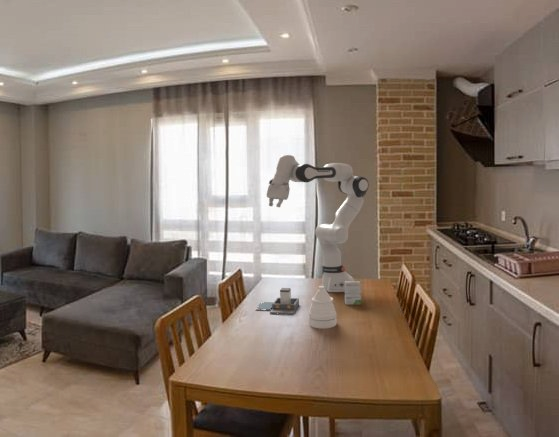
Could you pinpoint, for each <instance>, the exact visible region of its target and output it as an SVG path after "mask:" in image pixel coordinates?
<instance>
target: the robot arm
mask: <svg viewBox="0 0 559 437" xmlns="http://www.w3.org/2000/svg"><path fill="white" fill-rule="evenodd" d="M316 179H323V180H324V181H326V182H331V183H332V182H333V183H334V182H335V183H337V188H338V191H339V192H341V193H342V194H345V195H346V196H347V197H346V198H345V199H344V201H343V203H342V204H341V205H340V206H339V207H338V208H337V210H336V212H334V213H335V214H334V218H335V219H334V221H333V222H332V223H321V224H319V225H318V226H316V227H315V231H314V232H315V233H314V234H315V237H316V238H317V239H318V242H319V245H320V248H321V253H322V256H321V257H322V265H321V275H322V280H321V285H320V286H324V289H325V290H326V291H327V293H328V292H329V293H345V281H355V279H354V277H353V276H351V275H350V274H349V273H348V272H346V267H345V265H342V251H341V250H340V249H339V247H338V244H339V245H340V244H344V243H346V242H347V241H348V238H349V228H350V225H351V223H352V222H353V221H354V220H355V219H356V216H357V215H358V214H359V212H360V211H361V209H362V208H363V205H364V202H365V201H364V198H363V197H365V195H366V193H367V192H368V190H369V185H370V184H369V181H368V179H367V178H366V177H364V176H357V175H354V170H353V168H352V166H351V165H350V164H348V163H342V162H331V163H327V164H324V166H319V167H318V166H317V167H316V166H313V165H311V164H308V163H303V164H300V163H298V160H296V158H295V156H293V155H290V154H283V155H281V156H280V157H279V160H278V163H277V165H276V171H275V174H274V176H273V178H272V179H270V180H269V182H268V188H267V192H266V198H267V199H268V202H269V203H268V206H269V207H273V205H274V200H278V202H277V203H276V204H275V205H276V206H275V207H276V208H281V206H282V204H283V202H284V201H287V200H288V199H289V197H290V196H289V195H290V191H291V190H290V189H291V188H290V181H292V182H295V183H310V182H312V181H314V180H316Z"/></svg>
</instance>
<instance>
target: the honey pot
mask: <svg viewBox="0 0 559 437" xmlns="http://www.w3.org/2000/svg"><path fill="white" fill-rule="evenodd" d="M333 302H334V298H333V297H332V296H330V294H329V293H328V291H326V290H325V289H324V286H321V285H319V286H318V289H317V291H316V292H315V294H314V296H313V297H312V298H311V304H310V308H309V311H308V325H309V326H310V327H312V328H316V329H330V328H334V327H335V326H337V320H338V319H337V311H336V308H335V305H334V304H333Z"/></svg>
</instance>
